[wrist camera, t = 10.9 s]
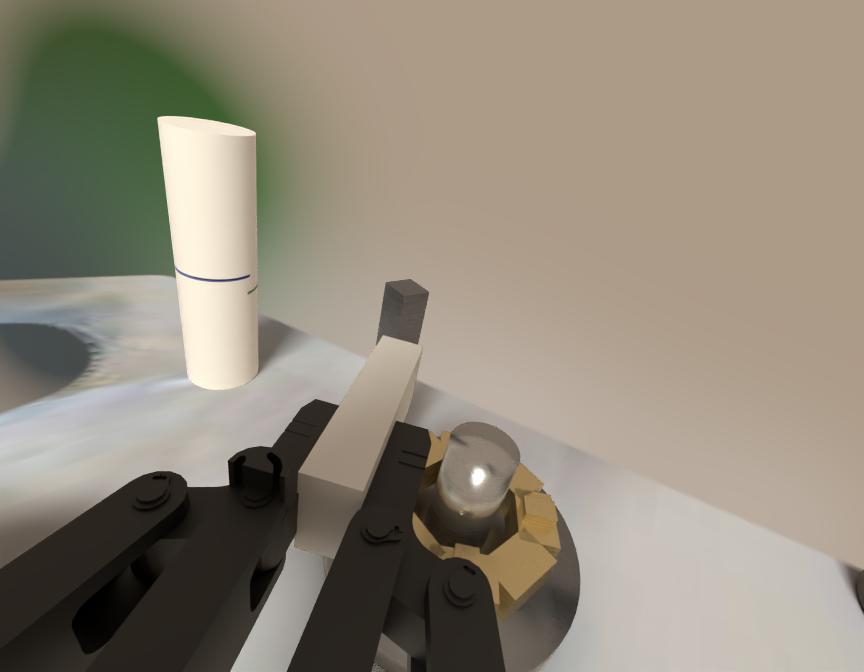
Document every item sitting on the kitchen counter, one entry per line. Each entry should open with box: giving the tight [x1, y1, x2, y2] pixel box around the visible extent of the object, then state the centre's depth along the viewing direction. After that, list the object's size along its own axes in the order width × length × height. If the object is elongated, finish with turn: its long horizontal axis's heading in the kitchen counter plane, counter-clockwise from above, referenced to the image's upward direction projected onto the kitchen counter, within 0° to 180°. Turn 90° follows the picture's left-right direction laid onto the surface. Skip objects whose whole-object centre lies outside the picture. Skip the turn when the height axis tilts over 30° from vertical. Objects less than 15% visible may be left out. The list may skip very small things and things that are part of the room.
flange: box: [324, 422, 580, 672], centre depth 31 cm, size 20×20×11 cm
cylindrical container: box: [158, 116, 258, 390], centre depth 40 cm, size 7×7×25 cm
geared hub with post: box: [376, 279, 561, 625], centre depth 30 cm, size 19×14×16 cm
